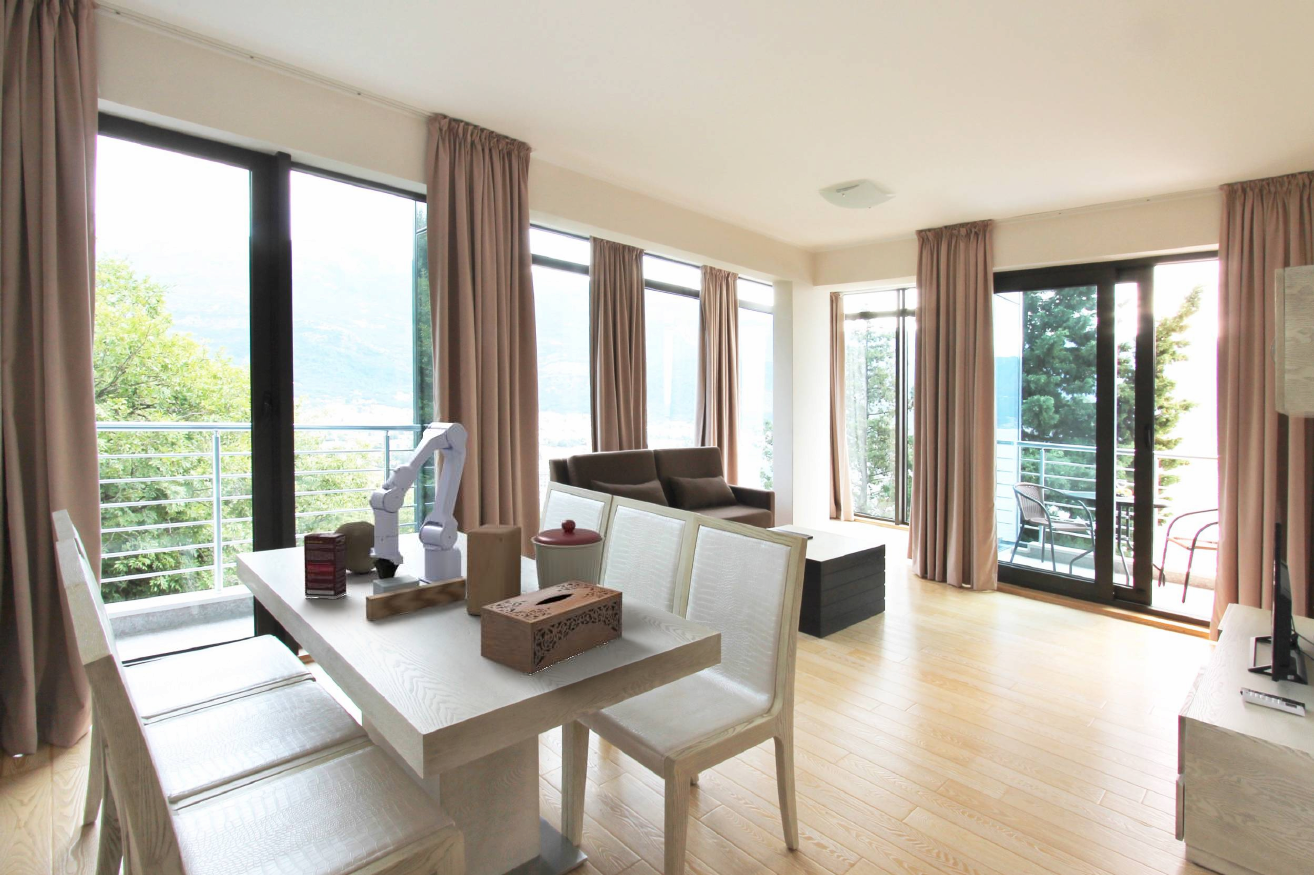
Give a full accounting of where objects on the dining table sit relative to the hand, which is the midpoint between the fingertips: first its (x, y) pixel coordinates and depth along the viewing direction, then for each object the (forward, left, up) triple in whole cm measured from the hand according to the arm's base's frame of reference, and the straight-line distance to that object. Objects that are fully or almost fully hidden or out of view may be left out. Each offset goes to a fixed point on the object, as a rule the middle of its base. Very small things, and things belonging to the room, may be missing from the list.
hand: (386, 587), depth 166 cm
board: (0, +17, -2) cm, 17 cm away
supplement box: (+12, -8, -2) cm, 15 cm away
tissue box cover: (-8, +59, -2) cm, 60 cm away
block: (0, +5, -2) cm, 5 cm away
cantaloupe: (-3, -25, -2) cm, 25 cm away
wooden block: (-12, +31, -2) cm, 33 cm away
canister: (-28, +39, -2) cm, 48 cm away
